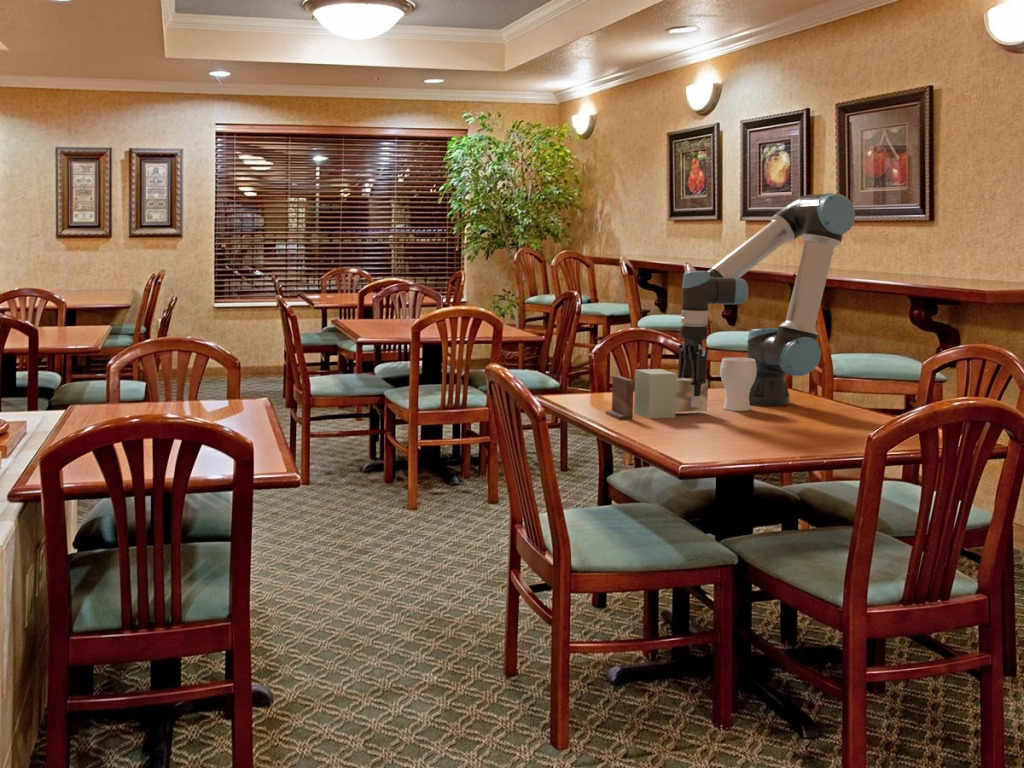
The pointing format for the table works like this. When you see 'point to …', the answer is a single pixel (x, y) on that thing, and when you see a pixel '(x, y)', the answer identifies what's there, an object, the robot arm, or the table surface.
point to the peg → (689, 395)
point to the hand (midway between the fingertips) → (690, 405)
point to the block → (655, 393)
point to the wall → (622, 398)
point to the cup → (737, 381)
